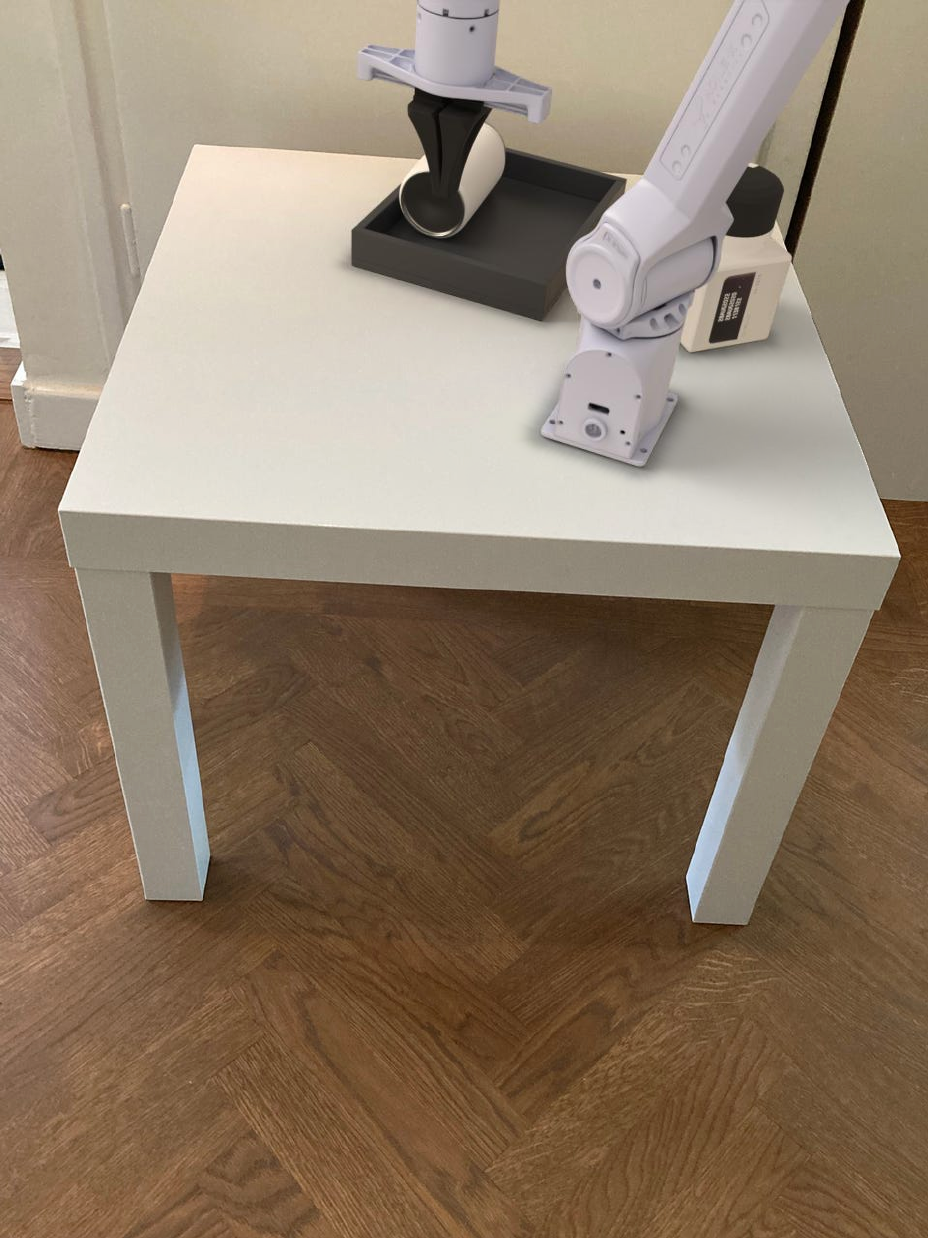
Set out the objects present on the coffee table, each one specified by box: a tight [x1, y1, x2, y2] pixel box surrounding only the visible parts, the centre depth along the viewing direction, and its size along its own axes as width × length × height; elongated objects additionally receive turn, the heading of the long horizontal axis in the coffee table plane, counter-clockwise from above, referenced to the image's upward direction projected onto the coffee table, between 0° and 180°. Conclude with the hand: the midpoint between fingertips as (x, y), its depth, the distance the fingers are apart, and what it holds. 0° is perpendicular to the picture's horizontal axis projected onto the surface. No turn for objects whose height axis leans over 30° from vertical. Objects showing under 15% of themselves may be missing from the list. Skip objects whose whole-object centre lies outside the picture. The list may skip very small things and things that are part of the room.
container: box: [680, 162, 793, 353], centre depth 92 cm, size 8×8×13 cm
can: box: [399, 121, 507, 238], centre depth 103 cm, size 6×6×12 cm
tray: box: [350, 147, 628, 322], centre depth 103 cm, size 22×18×3 cm
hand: (446, 191), depth 90 cm, fingers closed
